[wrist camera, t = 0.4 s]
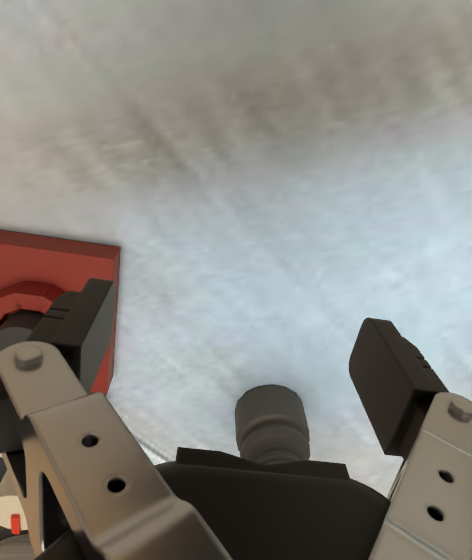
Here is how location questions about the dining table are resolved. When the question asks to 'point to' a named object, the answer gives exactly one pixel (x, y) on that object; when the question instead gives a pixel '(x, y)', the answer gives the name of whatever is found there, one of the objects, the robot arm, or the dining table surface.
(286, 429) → the candle holder
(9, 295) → the button housing
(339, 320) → the dining table surface
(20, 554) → the vase
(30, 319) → the button
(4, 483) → the knob
